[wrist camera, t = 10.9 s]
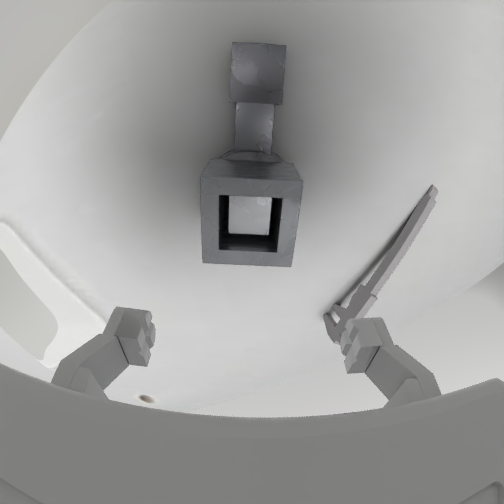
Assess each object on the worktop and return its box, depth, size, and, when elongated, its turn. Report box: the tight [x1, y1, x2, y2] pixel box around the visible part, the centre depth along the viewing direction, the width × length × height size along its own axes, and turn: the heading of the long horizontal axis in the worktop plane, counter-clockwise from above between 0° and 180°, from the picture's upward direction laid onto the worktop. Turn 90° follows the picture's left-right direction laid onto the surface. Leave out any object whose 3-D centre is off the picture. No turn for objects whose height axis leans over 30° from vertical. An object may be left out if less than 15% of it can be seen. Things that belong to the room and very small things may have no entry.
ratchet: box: [219, 42, 286, 235], centre depth 21 cm, size 17×8×6 cm, turn 177°
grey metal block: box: [200, 159, 303, 267], centre depth 22 cm, size 7×7×5 cm
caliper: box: [324, 185, 438, 345], centre depth 28 cm, size 20×1×6 cm, turn 150°
